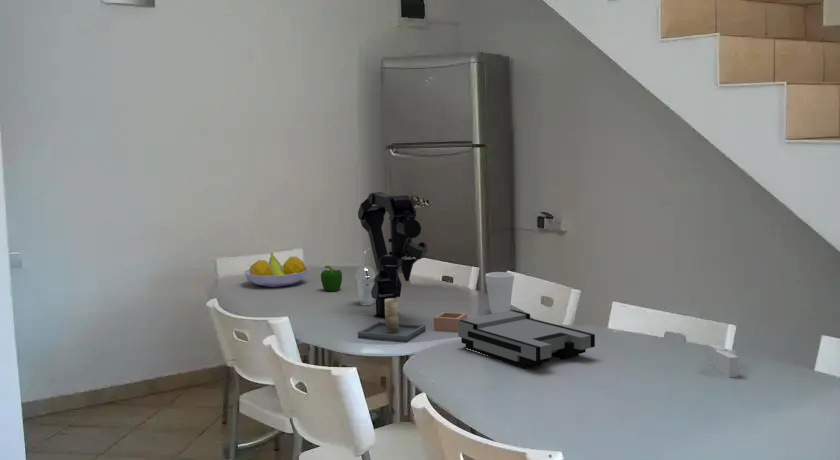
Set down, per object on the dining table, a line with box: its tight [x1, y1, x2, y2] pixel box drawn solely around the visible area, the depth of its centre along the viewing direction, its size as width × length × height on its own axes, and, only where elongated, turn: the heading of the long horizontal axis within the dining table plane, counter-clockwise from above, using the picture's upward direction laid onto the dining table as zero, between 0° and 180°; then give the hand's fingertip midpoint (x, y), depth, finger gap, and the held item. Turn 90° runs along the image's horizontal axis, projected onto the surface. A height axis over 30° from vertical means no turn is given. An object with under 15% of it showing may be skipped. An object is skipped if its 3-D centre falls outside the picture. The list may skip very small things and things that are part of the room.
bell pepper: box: [320, 265, 343, 292], centre depth 317 cm, size 8×8×10 cm
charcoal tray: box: [357, 321, 426, 343], centre depth 244 cm, size 16×14×2 cm
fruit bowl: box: [243, 252, 310, 288], centre depth 335 cm, size 28×27×11 cm
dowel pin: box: [384, 297, 400, 334], centre depth 244 cm, size 4×4×10 cm
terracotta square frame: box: [433, 311, 468, 333], centre depth 250 cm, size 8×8×4 cm
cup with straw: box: [353, 246, 376, 306], centre depth 289 cm, size 8×9×20 cm
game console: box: [457, 309, 596, 370], centre depth 219 cm, size 21×32×8 cm, turn 34°
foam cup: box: [484, 271, 515, 315], centre depth 270 cm, size 10×9×13 cm
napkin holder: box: [708, 344, 740, 378], centre depth 200 cm, size 15×11×6 cm
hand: (401, 283), depth 257 cm, fingers open, 9 cm apart
